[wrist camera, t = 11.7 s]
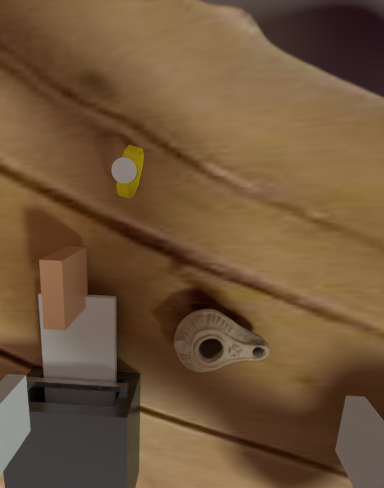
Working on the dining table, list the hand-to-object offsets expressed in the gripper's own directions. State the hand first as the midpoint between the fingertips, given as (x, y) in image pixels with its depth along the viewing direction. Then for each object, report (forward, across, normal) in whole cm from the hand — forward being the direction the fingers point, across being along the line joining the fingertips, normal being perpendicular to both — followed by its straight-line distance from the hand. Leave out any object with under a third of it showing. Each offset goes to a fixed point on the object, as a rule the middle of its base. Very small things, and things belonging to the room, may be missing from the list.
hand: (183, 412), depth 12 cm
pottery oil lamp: (+27, -4, +12) cm, 30 cm away
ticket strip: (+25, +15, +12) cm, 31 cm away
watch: (+27, +8, -10) cm, 30 cm away
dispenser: (+27, +15, +28) cm, 41 cm away
